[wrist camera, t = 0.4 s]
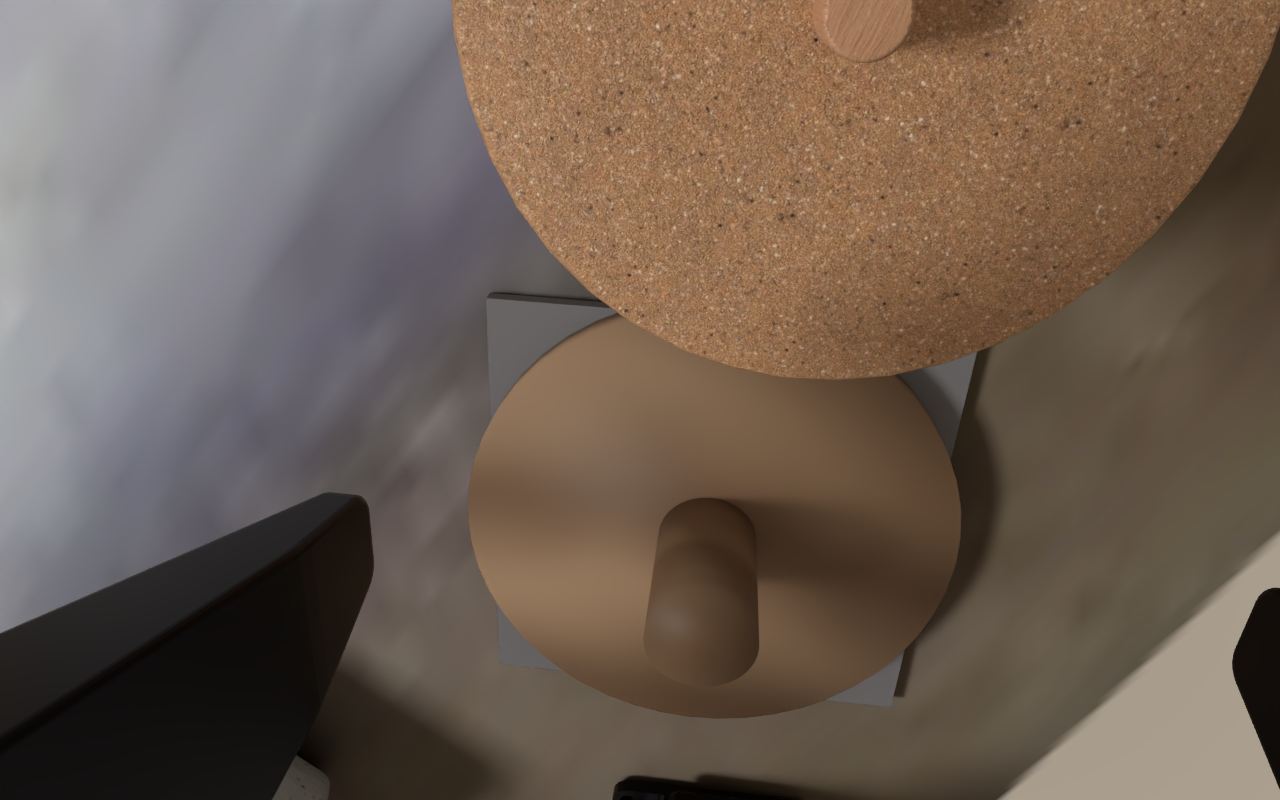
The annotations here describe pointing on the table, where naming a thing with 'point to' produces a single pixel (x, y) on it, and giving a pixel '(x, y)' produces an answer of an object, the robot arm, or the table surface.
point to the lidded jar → (852, 158)
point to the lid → (710, 524)
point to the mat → (543, 322)
